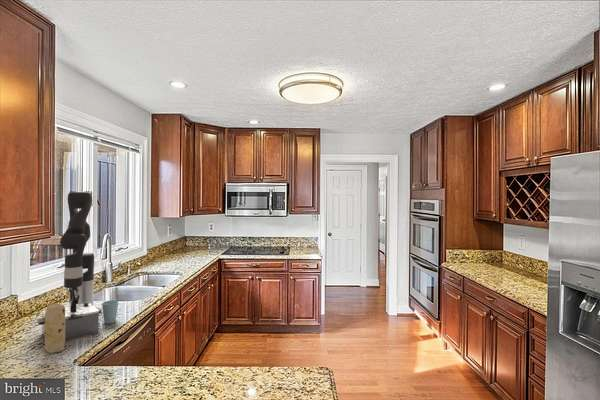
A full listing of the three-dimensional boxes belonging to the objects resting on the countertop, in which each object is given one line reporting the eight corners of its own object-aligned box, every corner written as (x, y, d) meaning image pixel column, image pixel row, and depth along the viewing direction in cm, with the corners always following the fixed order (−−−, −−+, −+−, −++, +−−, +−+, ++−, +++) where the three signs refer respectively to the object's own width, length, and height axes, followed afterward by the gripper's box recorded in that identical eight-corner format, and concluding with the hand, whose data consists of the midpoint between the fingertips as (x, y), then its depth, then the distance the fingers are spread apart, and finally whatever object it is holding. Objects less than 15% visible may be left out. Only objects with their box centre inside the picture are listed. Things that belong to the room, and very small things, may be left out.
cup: (118, 318, 193) (118, 299, 193) (118, 322, 187) (118, 303, 186) (102, 320, 189) (102, 301, 189) (102, 325, 183) (102, 305, 183)
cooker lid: (41, 312, 171) (41, 307, 171) (89, 304, 185) (89, 299, 185) (49, 324, 155) (49, 318, 155) (100, 314, 169) (100, 309, 169)
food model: (69, 349, 153) (70, 303, 153) (53, 355, 147) (54, 308, 147) (55, 345, 157) (56, 301, 157) (39, 351, 151) (39, 305, 151)
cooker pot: (35, 334, 169) (35, 314, 169) (95, 322, 187) (95, 303, 186) (40, 346, 156) (41, 324, 156) (104, 331, 173) (104, 311, 173)
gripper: (61, 275, 169) (61, 311, 169) (67, 279, 159) (66, 317, 159) (79, 272, 174) (79, 307, 174) (86, 277, 165) (85, 314, 165)
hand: (73, 312), depth 167 cm, fingers closed
